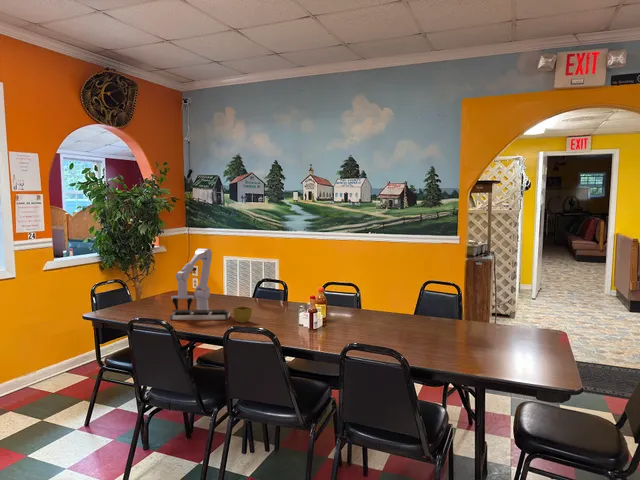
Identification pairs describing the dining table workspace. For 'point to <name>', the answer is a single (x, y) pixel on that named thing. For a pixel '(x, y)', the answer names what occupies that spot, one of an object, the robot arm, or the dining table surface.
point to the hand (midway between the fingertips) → (182, 309)
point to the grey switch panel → (200, 316)
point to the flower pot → (242, 314)
